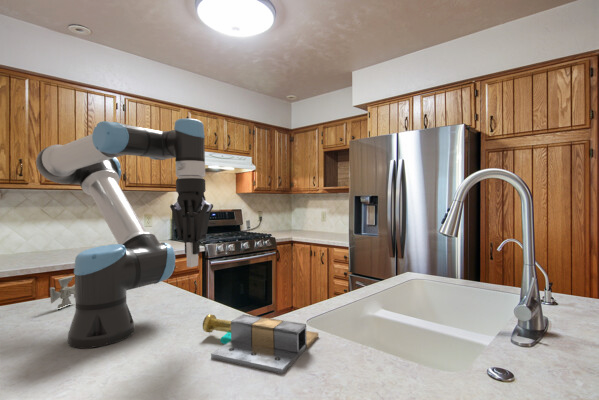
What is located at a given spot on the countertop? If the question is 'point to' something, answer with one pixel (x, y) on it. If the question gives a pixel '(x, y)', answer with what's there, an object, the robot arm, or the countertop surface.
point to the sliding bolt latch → (265, 343)
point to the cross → (63, 292)
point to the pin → (216, 324)
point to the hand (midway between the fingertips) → (192, 266)
